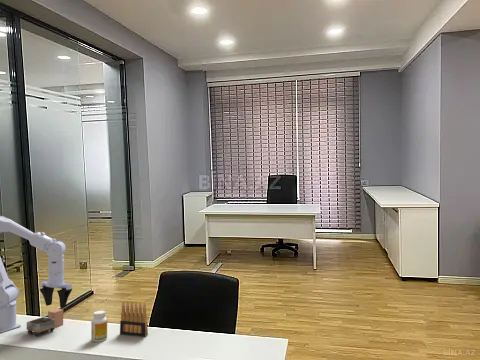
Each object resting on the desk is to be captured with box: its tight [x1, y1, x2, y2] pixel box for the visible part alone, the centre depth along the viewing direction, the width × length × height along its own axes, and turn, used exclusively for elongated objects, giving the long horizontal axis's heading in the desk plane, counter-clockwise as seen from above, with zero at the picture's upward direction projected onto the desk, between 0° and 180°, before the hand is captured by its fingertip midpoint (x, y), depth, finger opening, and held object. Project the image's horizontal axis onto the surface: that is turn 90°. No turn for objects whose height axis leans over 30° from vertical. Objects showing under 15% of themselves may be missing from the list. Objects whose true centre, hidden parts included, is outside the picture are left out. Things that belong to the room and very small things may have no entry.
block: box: [47, 308, 64, 329], centre depth 152 cm, size 4×4×6 cm
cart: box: [26, 316, 56, 337], centre depth 144 cm, size 7×7×4 cm
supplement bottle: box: [90, 310, 108, 343], centre depth 137 cm, size 5×5×10 cm
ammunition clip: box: [119, 301, 149, 338], centre depth 142 cm, size 11×2×12 cm, turn 76°
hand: (55, 306), depth 152 cm, fingers open, 7 cm apart
